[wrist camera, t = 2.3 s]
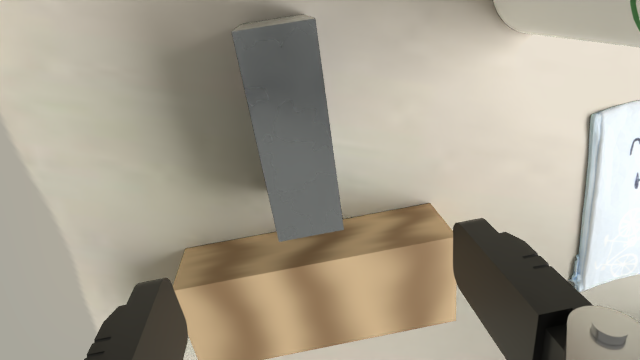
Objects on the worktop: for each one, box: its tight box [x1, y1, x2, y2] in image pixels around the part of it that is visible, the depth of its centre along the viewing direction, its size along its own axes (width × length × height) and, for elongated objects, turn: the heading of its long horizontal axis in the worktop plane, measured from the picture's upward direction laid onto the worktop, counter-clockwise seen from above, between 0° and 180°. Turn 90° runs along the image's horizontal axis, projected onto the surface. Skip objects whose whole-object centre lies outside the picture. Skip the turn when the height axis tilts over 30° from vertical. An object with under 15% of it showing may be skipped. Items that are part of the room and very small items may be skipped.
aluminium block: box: [232, 14, 344, 242], centre depth 24 cm, size 4×12×7 cm, turn 8°
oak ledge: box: [173, 203, 456, 360], centre depth 31 cm, size 20×8×5 cm, turn 98°
